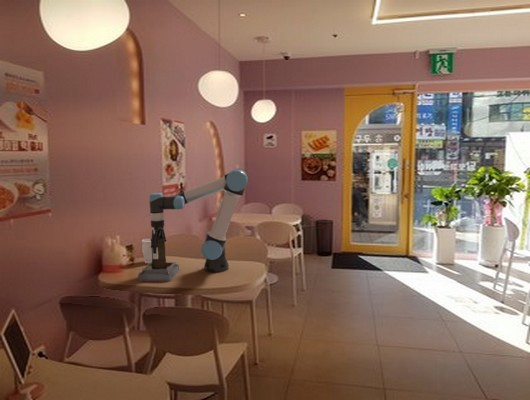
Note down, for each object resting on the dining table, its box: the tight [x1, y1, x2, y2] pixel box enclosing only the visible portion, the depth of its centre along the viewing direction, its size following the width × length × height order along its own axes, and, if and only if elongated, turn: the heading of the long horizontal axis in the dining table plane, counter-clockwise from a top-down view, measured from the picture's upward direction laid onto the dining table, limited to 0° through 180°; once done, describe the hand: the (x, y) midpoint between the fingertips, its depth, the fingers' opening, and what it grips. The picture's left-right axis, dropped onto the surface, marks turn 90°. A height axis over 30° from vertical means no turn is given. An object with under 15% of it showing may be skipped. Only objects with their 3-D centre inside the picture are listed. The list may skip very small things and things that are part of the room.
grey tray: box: [137, 261, 180, 282], centre depth 240 cm, size 18×20×6 cm
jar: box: [141, 237, 152, 264], centre depth 269 cm, size 11×10×15 cm
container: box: [151, 237, 167, 269], centre depth 239 cm, size 9×9×18 cm
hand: (159, 255), depth 239 cm, fingers open, 13 cm apart
